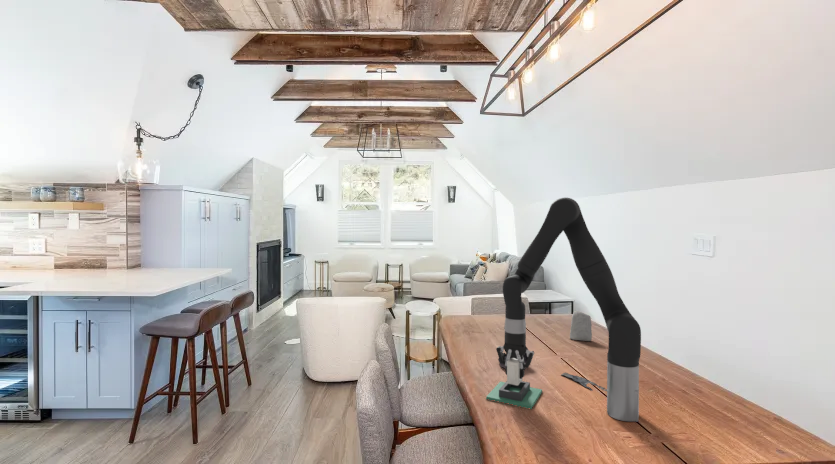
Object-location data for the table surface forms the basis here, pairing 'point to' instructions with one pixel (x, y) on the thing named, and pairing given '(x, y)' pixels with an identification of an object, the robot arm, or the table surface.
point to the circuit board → (515, 394)
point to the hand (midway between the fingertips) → (514, 376)
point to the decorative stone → (581, 327)
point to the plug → (513, 372)
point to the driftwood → (582, 381)
